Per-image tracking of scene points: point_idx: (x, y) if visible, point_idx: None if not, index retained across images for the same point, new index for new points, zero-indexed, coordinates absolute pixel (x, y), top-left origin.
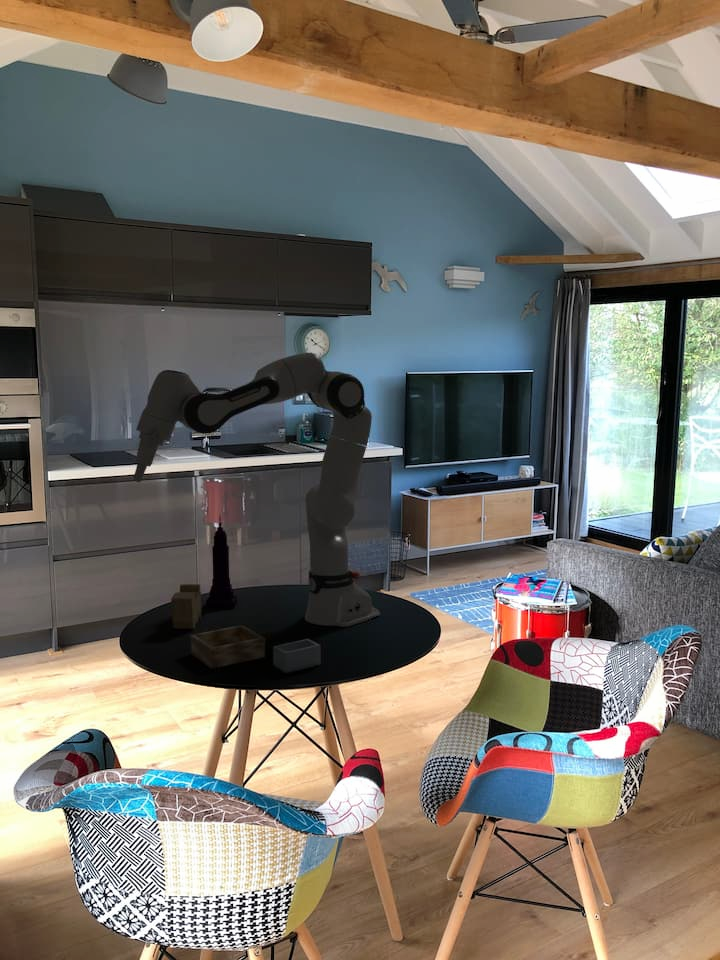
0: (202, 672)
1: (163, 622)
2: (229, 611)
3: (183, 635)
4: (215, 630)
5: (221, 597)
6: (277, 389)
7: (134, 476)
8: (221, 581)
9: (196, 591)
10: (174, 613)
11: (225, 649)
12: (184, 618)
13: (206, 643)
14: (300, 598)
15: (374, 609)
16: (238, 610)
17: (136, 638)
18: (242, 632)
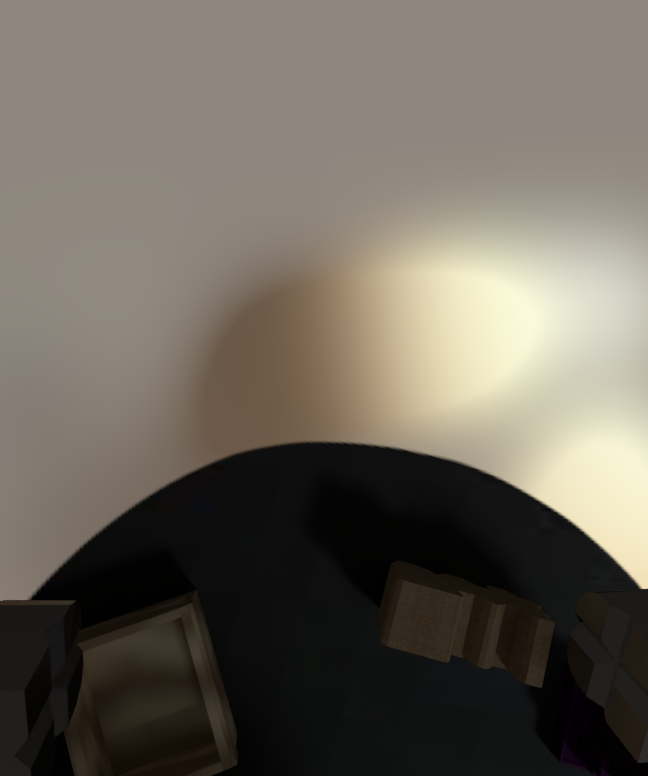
0: None
1: (468, 536)
2: (523, 730)
3: (347, 581)
4: (206, 681)
5: (589, 727)
6: None
7: (603, 611)
8: (623, 761)
9: (513, 664)
10: (395, 574)
11: None
12: (384, 598)
13: (100, 644)
14: None
15: None
16: (526, 758)
17: (357, 462)
18: (211, 756)
